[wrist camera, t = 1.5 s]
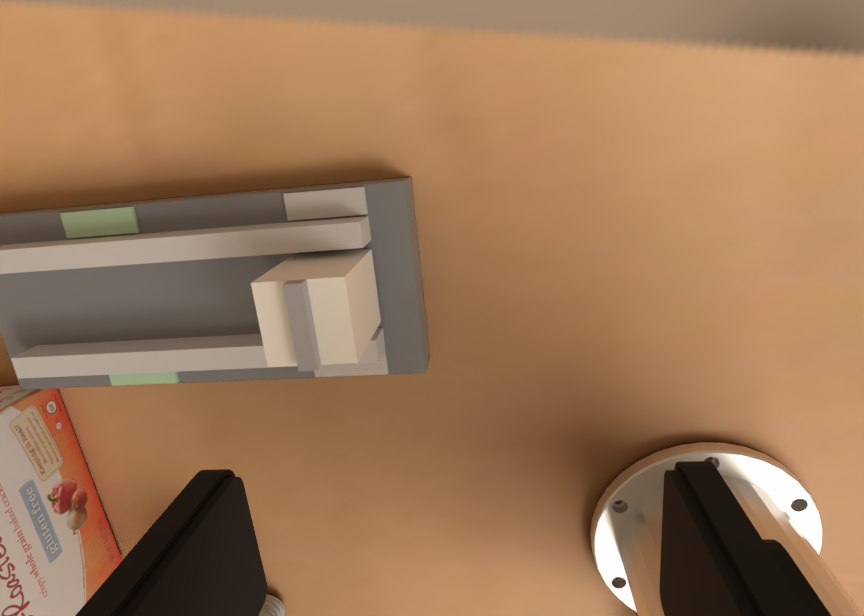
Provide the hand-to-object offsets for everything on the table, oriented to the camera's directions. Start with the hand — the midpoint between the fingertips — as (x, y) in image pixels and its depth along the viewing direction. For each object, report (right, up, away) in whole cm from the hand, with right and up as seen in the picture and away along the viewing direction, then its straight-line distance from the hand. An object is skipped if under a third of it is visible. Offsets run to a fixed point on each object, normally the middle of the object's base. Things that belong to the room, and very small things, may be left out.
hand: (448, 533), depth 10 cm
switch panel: (-13, +5, +21) cm, 25 cm away
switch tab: (-5, +5, +17) cm, 19 cm away
